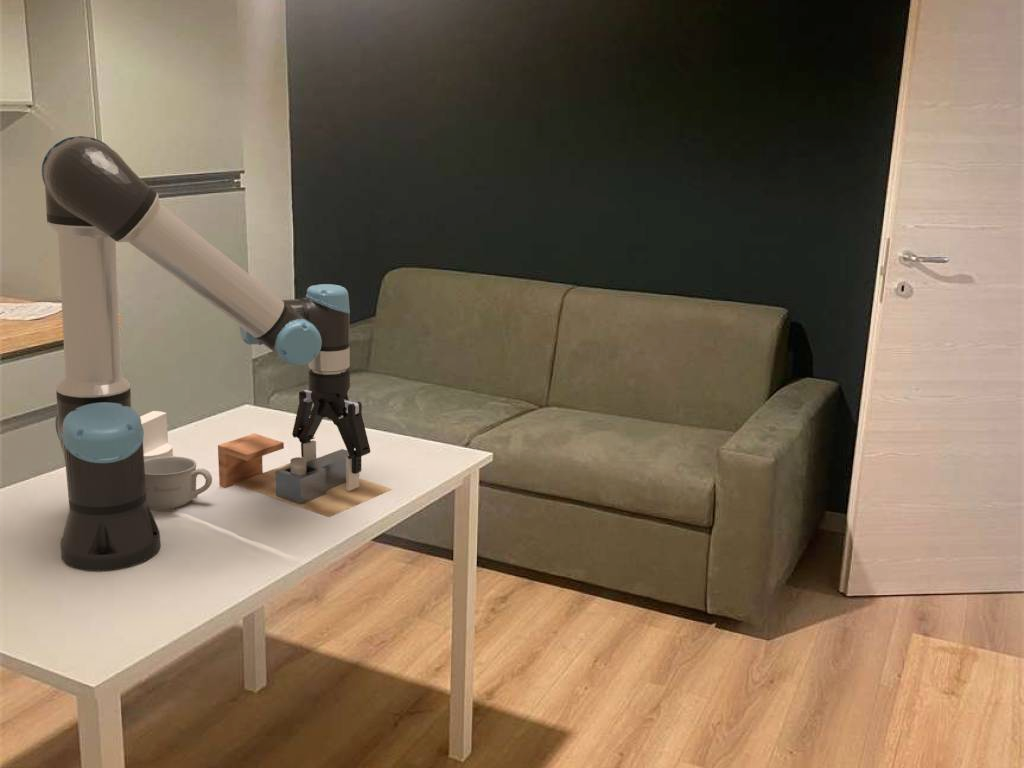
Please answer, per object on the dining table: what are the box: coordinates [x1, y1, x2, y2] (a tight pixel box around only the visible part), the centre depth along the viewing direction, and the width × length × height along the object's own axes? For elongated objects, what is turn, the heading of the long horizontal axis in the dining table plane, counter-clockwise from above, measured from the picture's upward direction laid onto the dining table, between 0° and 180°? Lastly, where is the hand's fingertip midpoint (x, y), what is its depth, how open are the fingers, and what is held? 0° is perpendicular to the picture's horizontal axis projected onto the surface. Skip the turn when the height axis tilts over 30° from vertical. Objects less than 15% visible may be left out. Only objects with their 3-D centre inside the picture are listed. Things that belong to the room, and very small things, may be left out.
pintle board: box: [217, 433, 393, 518], centre depth 198 cm, size 18×28×8 cm, turn 55°
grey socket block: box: [275, 448, 350, 504], centre depth 197 cm, size 16×6×5 cm, turn 145°
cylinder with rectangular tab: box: [140, 410, 174, 460], centre depth 201 cm, size 9×9×12 cm
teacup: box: [144, 455, 213, 512], centre depth 188 cm, size 14×11×8 cm
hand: (331, 481), depth 200 cm, fingers open, 10 cm apart
